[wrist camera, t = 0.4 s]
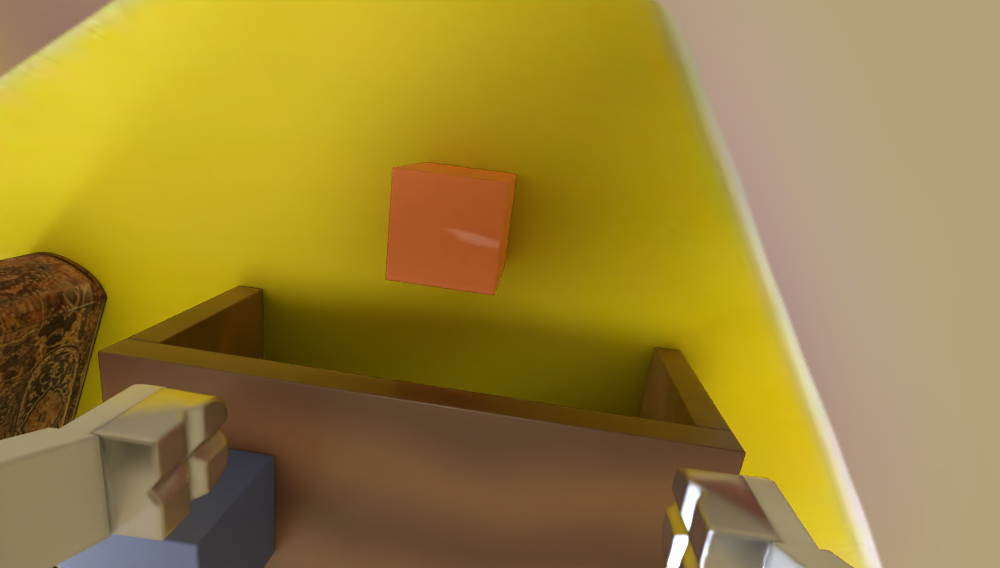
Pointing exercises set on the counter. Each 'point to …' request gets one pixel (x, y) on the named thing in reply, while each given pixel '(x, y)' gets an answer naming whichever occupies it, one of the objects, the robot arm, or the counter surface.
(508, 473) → the shelf
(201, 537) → the slate-blue box
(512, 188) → the orange box
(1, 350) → the book
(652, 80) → the counter surface
